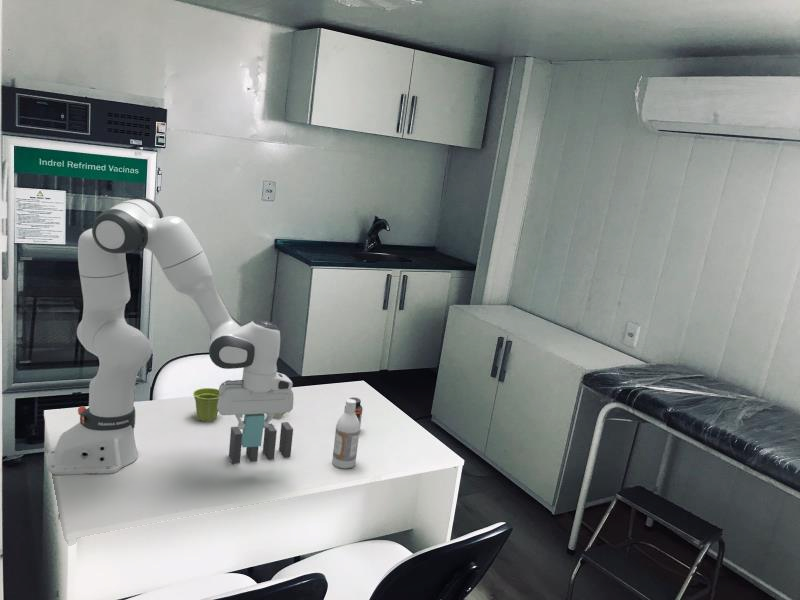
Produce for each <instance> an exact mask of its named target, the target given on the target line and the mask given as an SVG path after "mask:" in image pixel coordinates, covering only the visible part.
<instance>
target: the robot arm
mask: <svg viewBox="0 0 800 600" xmlns="http://www.w3.org/2000/svg"><path fill="white" fill-rule="evenodd" d="M77 242H78V243H77V263H78V264H77V265H78V271H79V272H78V273H79V278H80V285H81V293H82V299H83V300H82V301H83V306H82V307H83V309H82V318H81V321H80V322H79V323H78V325H77V328H76V336H77V339H78V341H79V342H80V343H81V345H82V346H83V348H84V349H85V350H86V351H87V352H89V353H91V354H93V355H94V356H96V357H97V358H98V362H99V367H98V370H97V373H96V375H95V376H94V377H92V379H91V380H90V382H89V386H88V388H89V389H88V390H89V393H88V396H89V397H88V408H87V407H85V406H84V405H82V406H79V407H78V408H77V414H78V415H79V422H78V423H77V424H75V425H74V426H72V427H71V428H69V429H68V430H66V431H64V432H62V433H61V434H60V436H59V438H58V441H57V443H56V446H55V447H53V448H52V449H51V450H49V451H48V453H47V455H46V460H45V467H46V469H47V471H48V473H50V474H52V475H86V473H98V474H114V473H117V472H119V471H120V470H121V469H122V468H123V467H127V466H128V465H130V464H132V463H133V462H135V461H136V460H137V459H138V456H139V451H138V449H137V445H136V440H135V432H134V431H135V430H134V429H135V425H136V417H137V415H136V408H135V406H134V405H135V390H136V389H135V388H136V381H137V377H138V375H139V372H140V369H141V368H142V367H143V366H145V365H146V364H147V363H148V362H149V360H150V359H151V357H152V352H153V348H152V343H151V341H150V340H149V339H148V337H147V336H146V335H145V334H144V333H143V332H142V331H141V330H140V329H138V328H136V327H134V326H132V325H130V324H128V323H127V320H126V319H125V318H126V317H125V310H126V304H128V302H129V301H130V299H131V296H132V295H131V288H130V281H129V273H128V266H127V259H126V254H127V253H128V254H129V253H140V252H143V250H145V249H146V250H148V251H150V252H151V253H152V254H153V256H154V257H155V258H156V259H155V260H157V262H158V264H159V266H160V268H161V271H162V272H163V274H164V276H165V277H166V279H167V280H168V283H170V284H171V286H172V287H173V289H175V291H176V292H178V293H180V294H183V295H186V296H188V297H190V298H191V299H192V300H193V301H194V302H195V304H196V305H197V307H198V309H199V311H200V312H201V314H202V316H203V318H204V319H205V321H206V323H207V324H208V326H209V327H208V328H209V331H210V333H209V336H210V337H209V339H210V343H209V349H208V354H209V358H210V360H211V362H212V363H213V364H214V365H215V366H216V367H219V368H221V369H224V370H225V369H226V370H228V369H229V370H230V369H231V370H232V369H234V370H235V369H242V379H238V380H237V379H235V380H225V381H224V382H221V384H220V385H219V387H218V390H219V395H220V396H219V399H218V404H217V410H218V414H220V415H221V416H235V418H236V419H237V423H238V424H237V426H238V428H239V429H240V430H243V429H245V425H246V423H245V422H244V420H242V418H243V415H245V414H264V415H265V414H267V415H266V417H265V418H264V426H263V429H265V428H268V425H269V424H270V421H271V420H272V419H274V418H273V417H274V413H284V414H285V413H286V414H287V413H291V411H292V410H293V407H294V392H293V384H294V383H293V381H292V380H291V379H290V378H289V377H288V376H287V375H286V374H284V373H282V372H281V373H280V372H278V366H277V361H278V359H279V357H280V350H281V332H280V329H279V328H278V326H277V325H276V324H274V323H272V322H271V321H267V320H263V319H253V320H252V321H250V322H248V323H246V324H245V325H243V324H242V323H240V322H239V321H238V320H237V319H235V318H234V317H233V316H232V315H231V314H230V312H229V310H228V308H227V307H226V305H225V303H224V301H223V299H222V297H221V295H220V294H219V292H218V290H217V287H216V284H215V279H214V275H213V272H212V268H211V265H210V262H209V259H208V257H207V255H206V252H205V251H204V249H203V247H202V245H201V244H200V241H199V240H198V238H197V236H196V235H195V233H194V232H193V230H192V229H191V228H190V226H189V224H187V222H186V221H185V219H183V218H181V217H180V216H176V215H168V216H167V215H166V216H164V213H163V210H162V208H161V207H160V206H159V204H157V202H155V201H154V200H152V199H149V198H147V197H133V198H130V199H128V200H124V201H122V202H119V203H116V204H114V205H113V206H112V207H111V208H109V209H106V210H104V211H103V212H101V213H100V214H99V215H98V216H97V217H96V218H95V220H94V221H93V224H92V227H91V228H88V229H87V230H84V231H83V232H82V233H81V234H80V236H79V238H78V241H77ZM84 473H85V474H84Z"/></svg>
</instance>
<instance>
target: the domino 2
mask: <svg viewBox="0 0 800 600" xmlns="http://www.w3.org/2000/svg"><path fill="white" fill-rule="evenodd" d="M243 415H244V417H243V421H244V422H245V423H246V425H245V429H242V431H241V432H242V440H241V448H246V447H257V446H259V447H261V446H262V443H263V442H262V438H263V435H264V434H263V433H264V428H263V426H264V420H265V418H266V417H265V414H243Z"/></svg>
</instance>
